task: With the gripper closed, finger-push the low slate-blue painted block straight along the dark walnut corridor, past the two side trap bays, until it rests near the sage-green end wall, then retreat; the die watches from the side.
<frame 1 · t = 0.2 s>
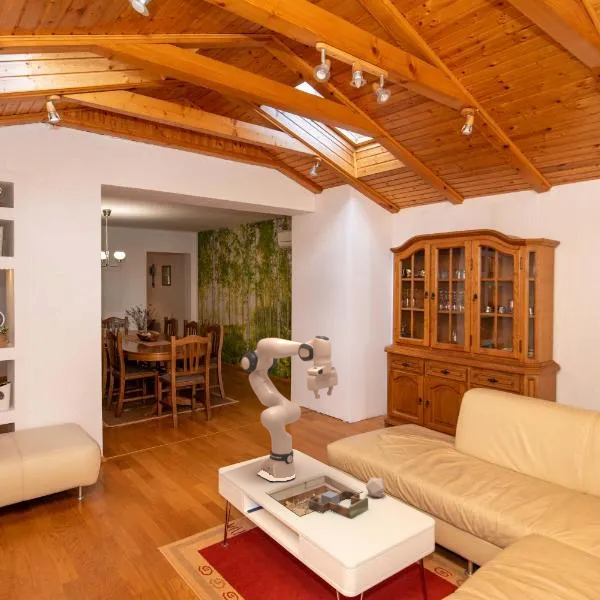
hand: (323, 396, 238), 47 cm above the table, fingers open, 8 cm apart
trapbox: (338, 506, 221), on the table
die: (375, 496, 232), on the table
block: (330, 503, 224), resting in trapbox
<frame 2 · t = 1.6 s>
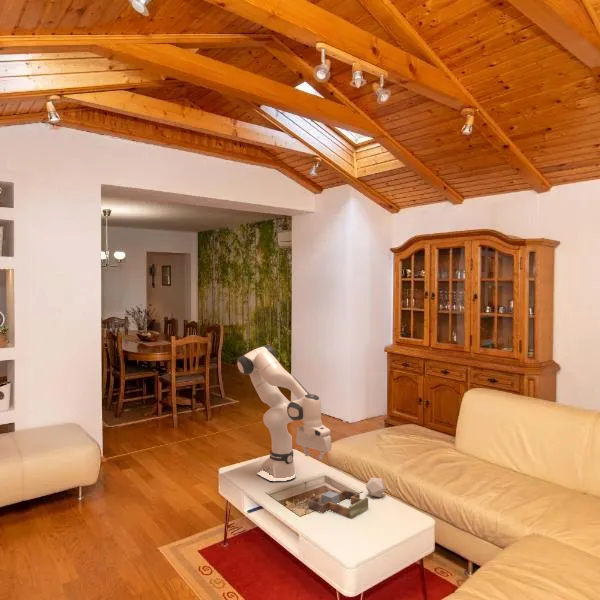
hand: (313, 457, 231), 19 cm above the table, fingers open, 7 cm apart
nothing on the table moved.
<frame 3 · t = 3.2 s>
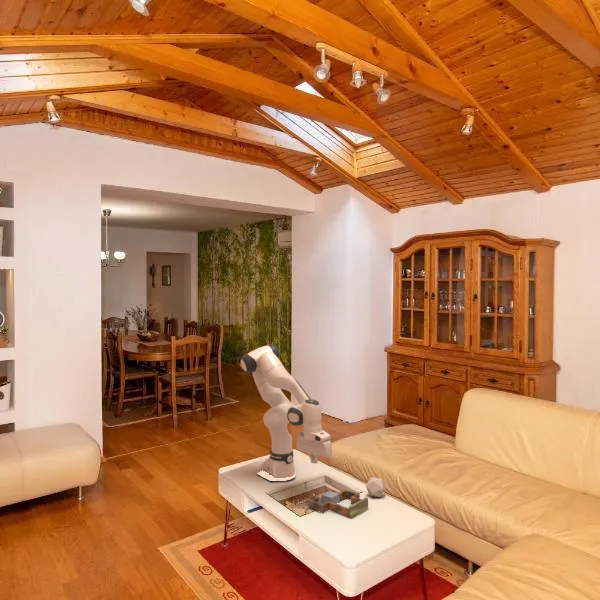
hand: (314, 462, 231), 17 cm above the table, fingers closed
nothing on the table moved.
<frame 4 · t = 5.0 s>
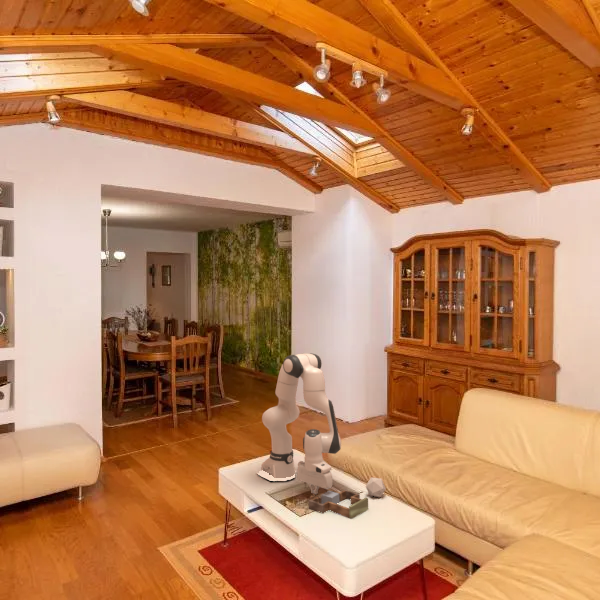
hand: (314, 493, 231), 2 cm above the table, fingers closed
nothing on the table moved.
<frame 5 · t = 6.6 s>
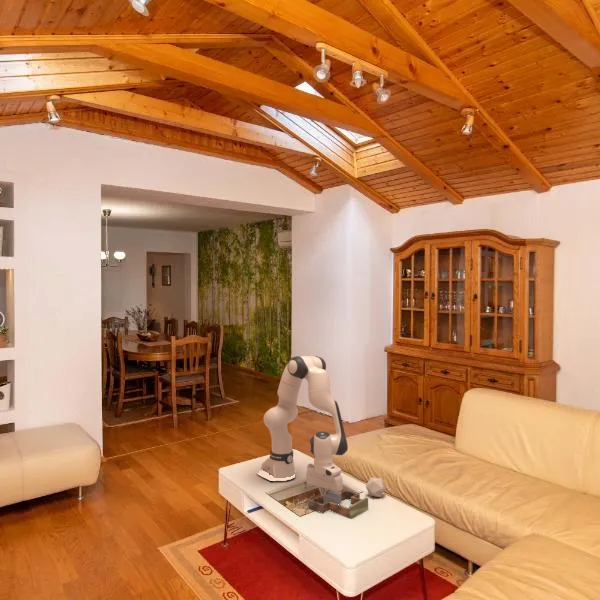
hand: (324, 496, 227), 2 cm above the table, fingers closed
block: (332, 504, 224), resting in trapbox, touching gripper
everything else where it was.
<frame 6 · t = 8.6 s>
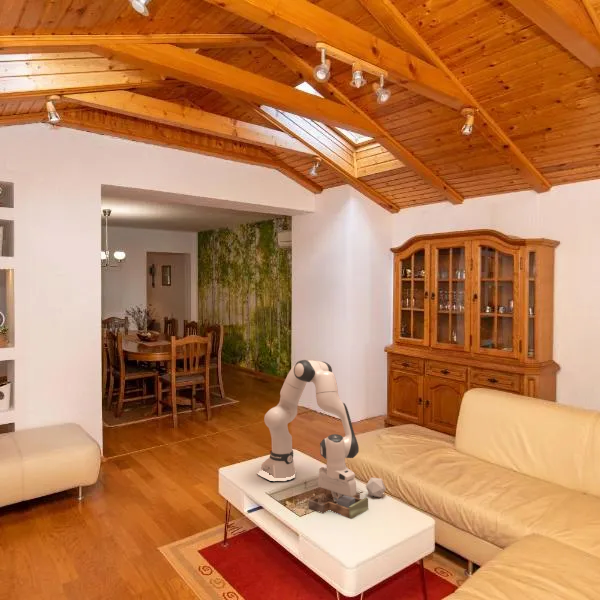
hand: (337, 501, 222), 2 cm above the table, fingers closed
block: (346, 508, 219), resting in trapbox
everything else where it was.
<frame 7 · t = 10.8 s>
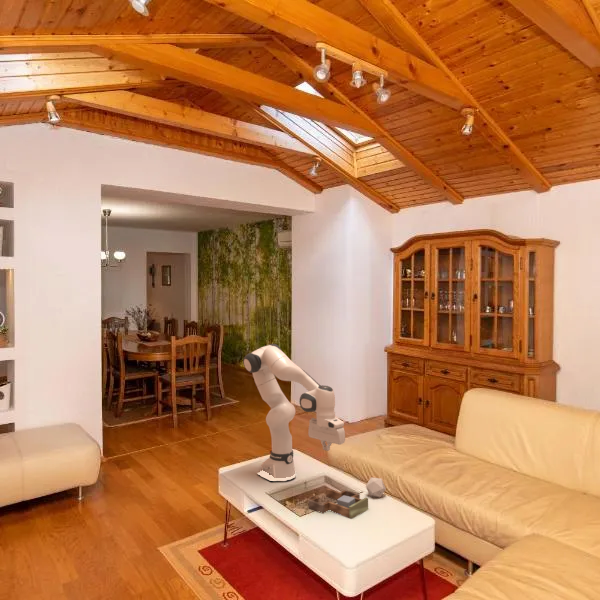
hand: (326, 450, 227), 24 cm above the table, fingers closed
nothing on the table moved.
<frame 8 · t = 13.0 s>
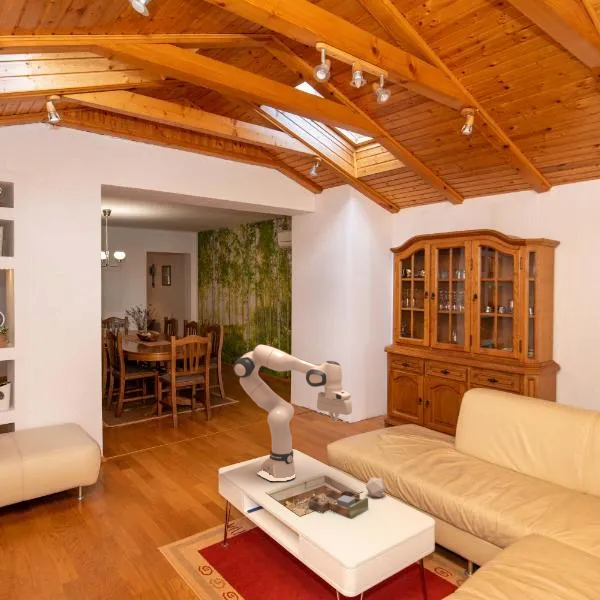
hand: (334, 421, 241), 34 cm above the table, fingers closed
nothing on the table moved.
at the end: block inside the target area (2.4 cm from its centre), resting in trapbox; block moved 8.9 cm from its start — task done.
